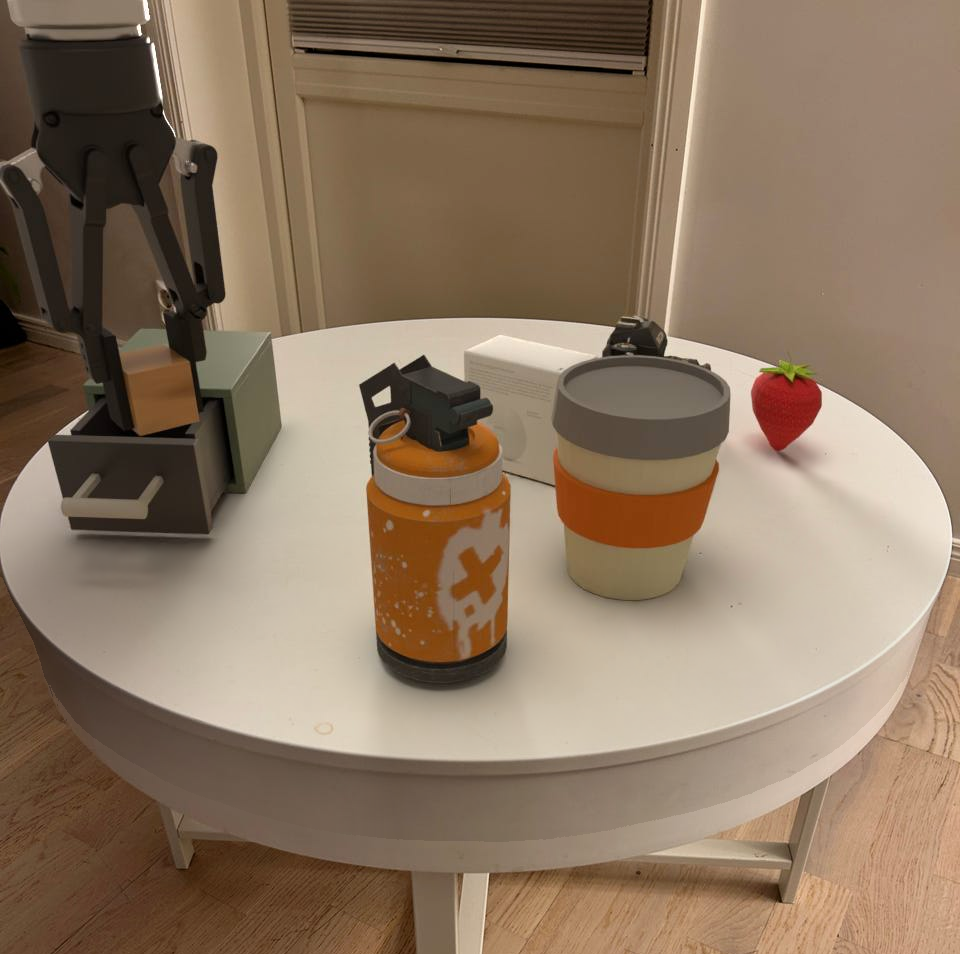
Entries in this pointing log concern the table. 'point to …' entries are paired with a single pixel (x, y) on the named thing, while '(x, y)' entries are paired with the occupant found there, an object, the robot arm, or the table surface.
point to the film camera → (640, 340)
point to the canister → (436, 525)
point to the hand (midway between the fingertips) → (157, 414)
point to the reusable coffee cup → (635, 468)
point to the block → (159, 389)
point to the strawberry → (785, 402)
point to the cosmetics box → (521, 399)
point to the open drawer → (143, 473)
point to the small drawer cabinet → (229, 392)
